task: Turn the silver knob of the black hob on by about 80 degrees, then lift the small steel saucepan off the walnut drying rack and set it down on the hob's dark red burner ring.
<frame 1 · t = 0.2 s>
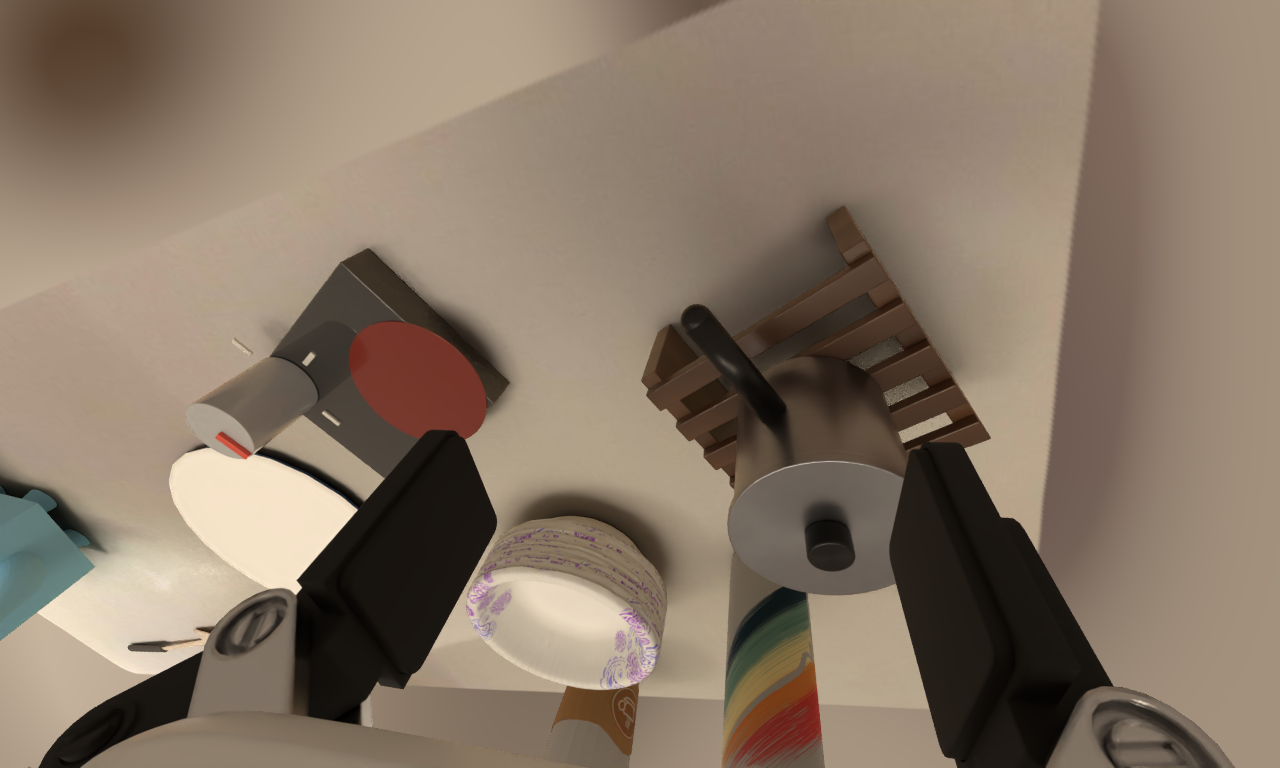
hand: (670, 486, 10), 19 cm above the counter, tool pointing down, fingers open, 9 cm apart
hob: (391, 370, 35), on the counter
drying rack: (800, 354, 29), on the counter
paper bowls: (588, 550, 43), on the counter
lotion bottle: (767, 560, 39), on the counter
coffee cup: (613, 648, 52), on the counter
spatula: (183, 640, 75), on the counter
burner ring: (418, 386, 32), resting on hob
teakettle: (45, 512, 60), on the counter
plate: (298, 532, 51), on the counter
saucepan: (809, 416, 24), point 6 cm above the counter, touching drying rack
hob knob: (254, 407, 32), point 5 cm above the counter, hinge at 0.0°
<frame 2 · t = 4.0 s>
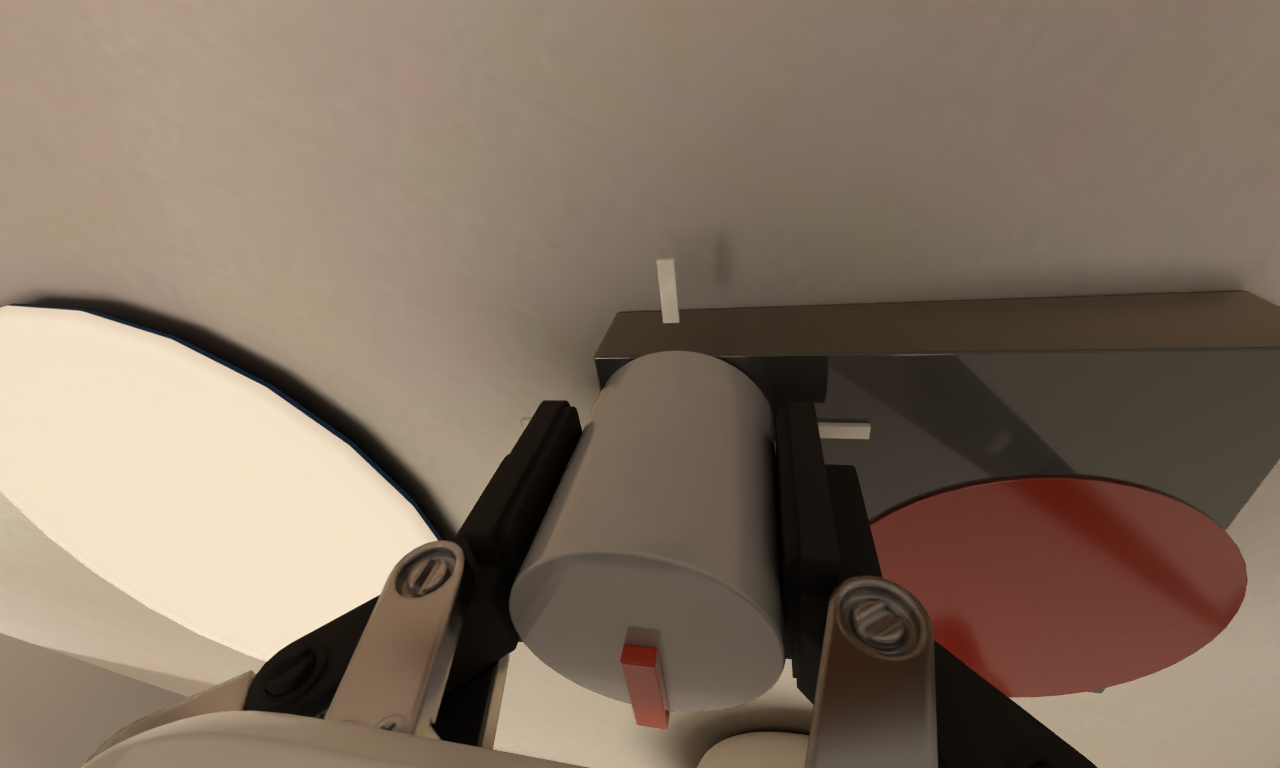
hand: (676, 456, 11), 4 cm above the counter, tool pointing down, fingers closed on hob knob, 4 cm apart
hob: (861, 480, 15), on the counter
paper bowls: (795, 764, 27), on the counter
burner ring: (1006, 603, 13), resting on hob
plate: (245, 525, 24), on the counter
hob knob: (664, 516, 10), point 5 cm above the counter, hinge at -0.1°, touching gripper
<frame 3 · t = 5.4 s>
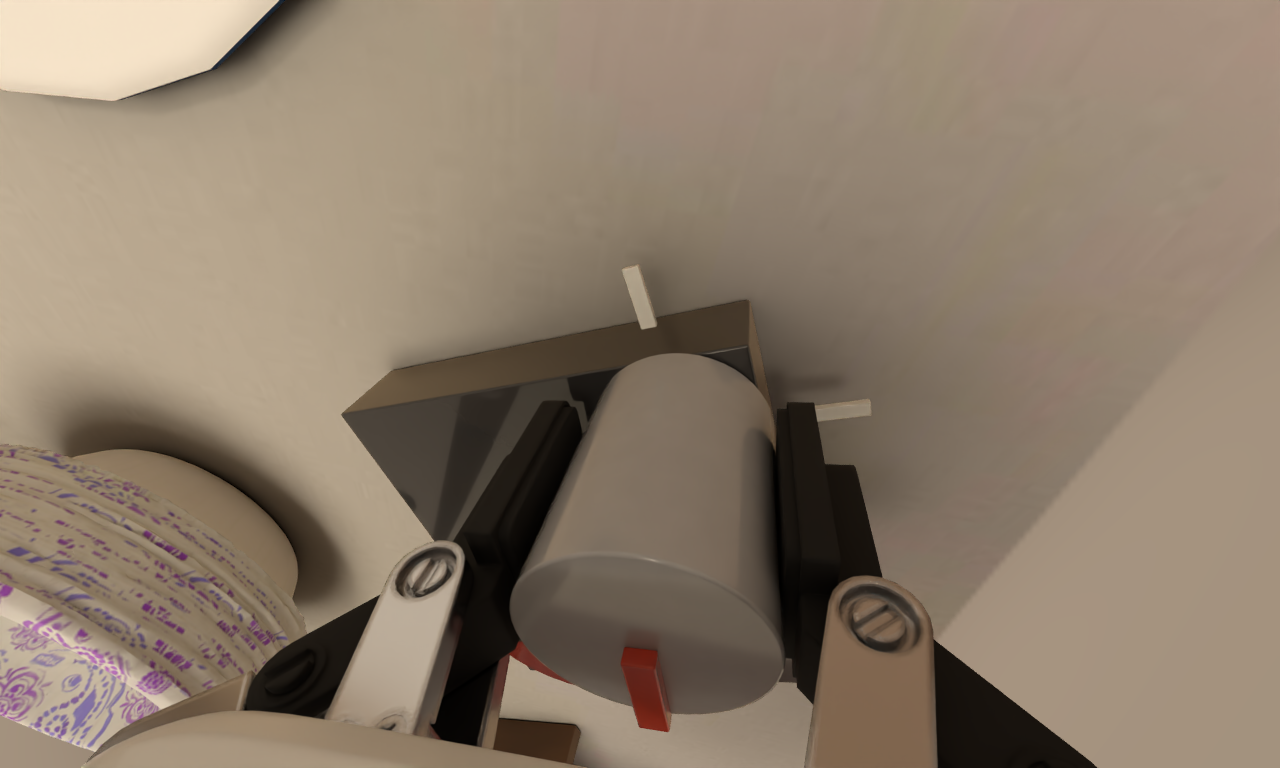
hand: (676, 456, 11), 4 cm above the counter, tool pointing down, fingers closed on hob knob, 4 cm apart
hob: (620, 504, 18), on the counter
drying rack: (529, 759, 34), on the counter
paper bowls: (211, 516, 25), on the counter
burner ring: (584, 624, 18), resting on hob
hob knob: (665, 518, 10), point 5 cm above the counter, hinge at 80.7°, touching gripper
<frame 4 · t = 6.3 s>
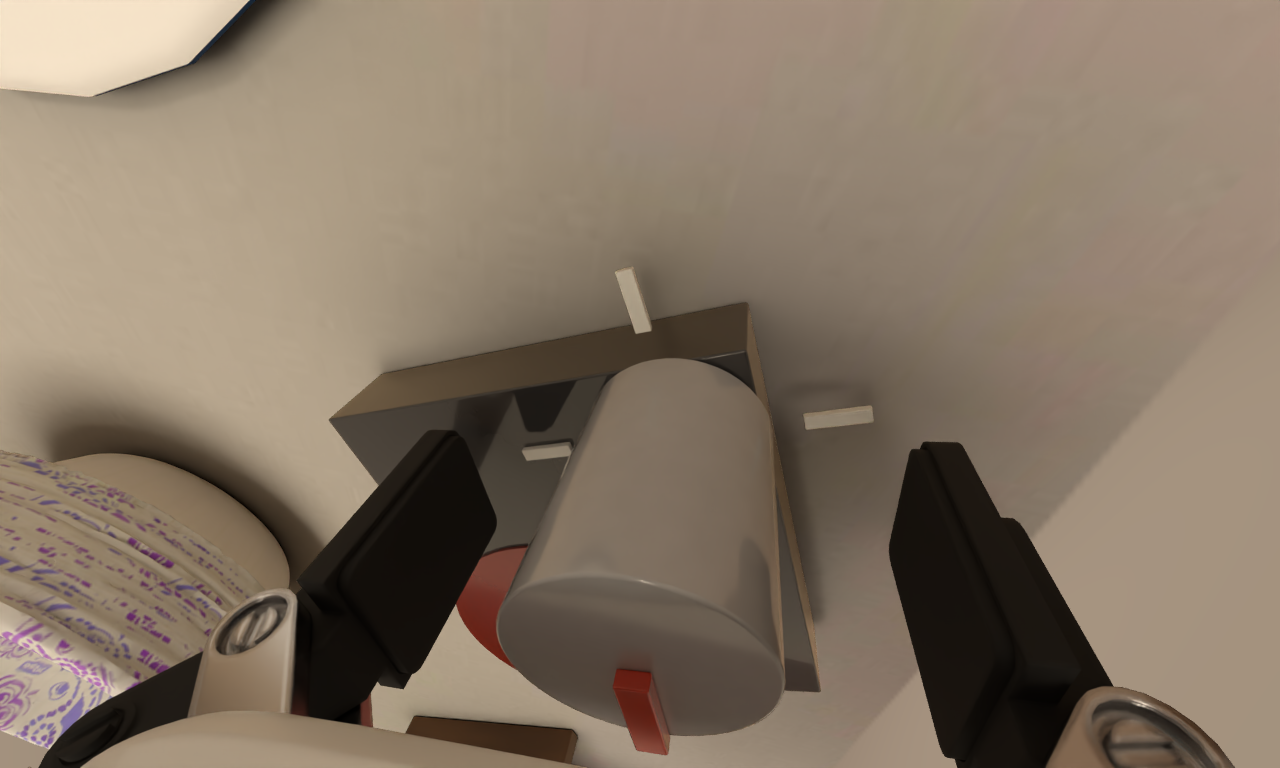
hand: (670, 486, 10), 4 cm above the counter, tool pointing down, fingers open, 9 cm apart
hob: (616, 510, 18), on the counter
drying rack: (526, 764, 34), on the counter
paper bowls: (201, 521, 24), on the counter
burner ring: (580, 632, 18), resting on hob
hob knob: (660, 530, 9), point 5 cm above the counter, hinge at 82.4°
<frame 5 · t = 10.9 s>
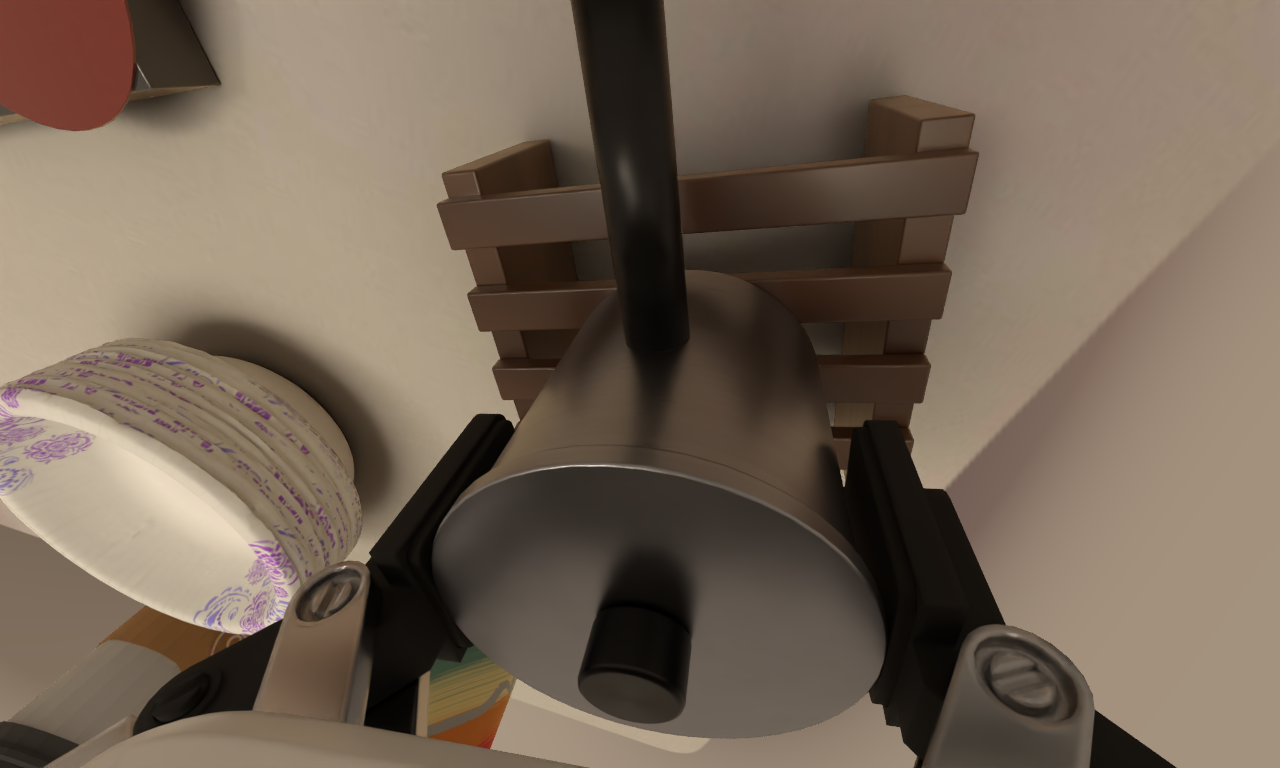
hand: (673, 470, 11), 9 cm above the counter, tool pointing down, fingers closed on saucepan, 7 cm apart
drying rack: (707, 298, 19), on the counter
paper bowls: (278, 426, 28), on the counter
lotion bottle: (520, 536, 29), on the counter
coffee cup: (271, 559, 37), on the counter
saucepan: (690, 385, 14), point 6 cm above the counter, touching drying rack, gripper
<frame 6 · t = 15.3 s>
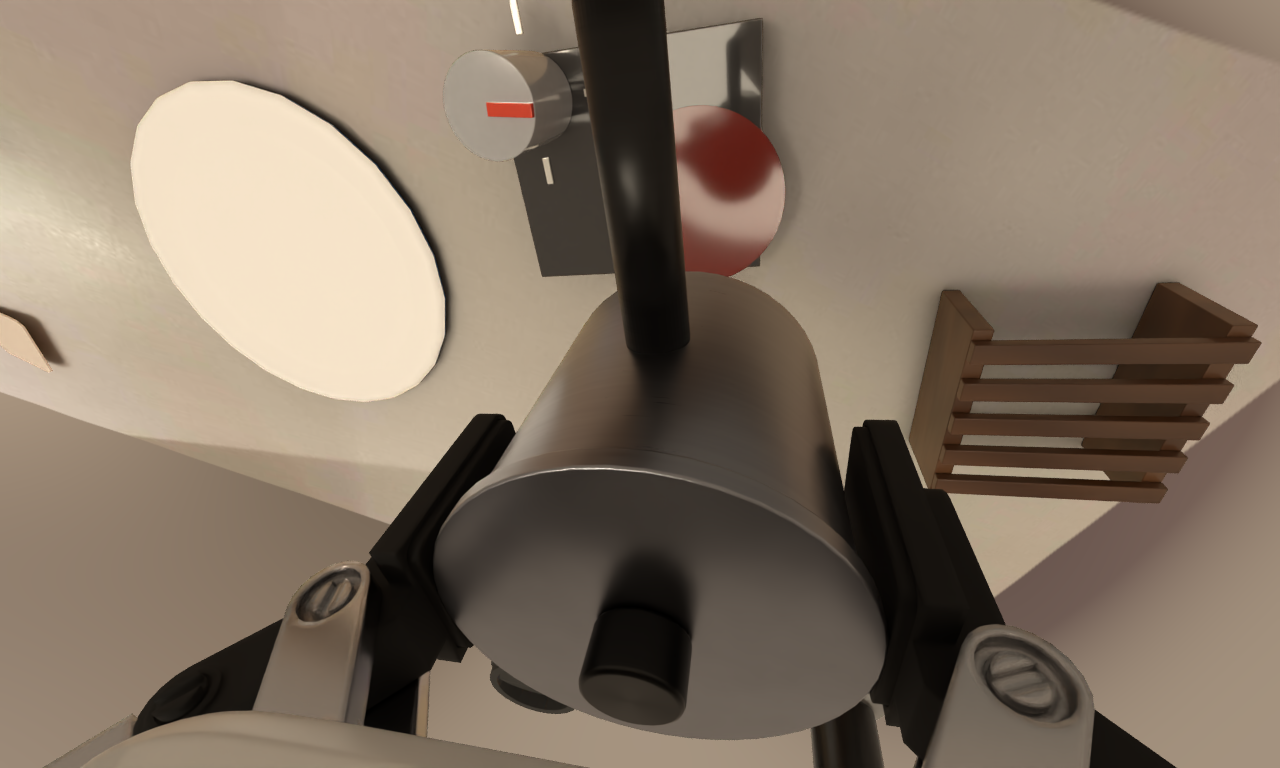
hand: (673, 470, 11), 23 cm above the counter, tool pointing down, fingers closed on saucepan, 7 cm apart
hob: (641, 162, 30), on the counter
drying rack: (1024, 372, 32), on the counter
lotion bottle: (815, 516, 43), on the counter
coffee cup: (587, 535, 51), on the counter
burner ring: (697, 201, 28), resting on hob
plate: (304, 264, 39), on the counter
saucepan: (690, 386, 14), point 20 cm above the counter, touching gripper
hob knob: (512, 104, 24), point 5 cm above the counter, hinge at 82.4°
when the fingers open (6 cm above the counter, at t = 19.7 s): saucepan stays where it is, resting on burner ring.
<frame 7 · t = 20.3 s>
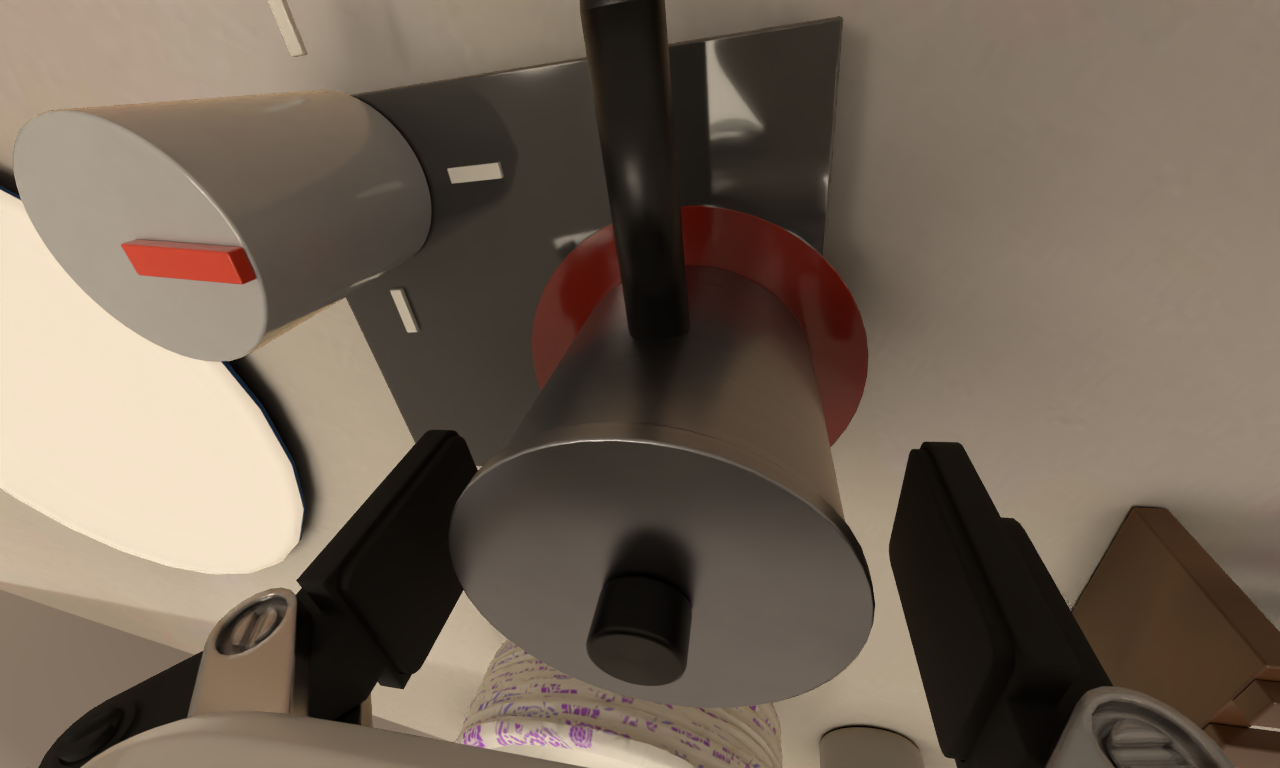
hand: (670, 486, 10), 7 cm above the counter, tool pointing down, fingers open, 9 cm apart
hob: (587, 283, 16), on the counter
drying rack: (1256, 625, 19), on the counter
paper bowls: (641, 644, 28), on the counter
lotion bottle: (867, 743, 29), on the counter
burner ring: (689, 374, 14), resting on hob
plate: (89, 400, 25), on the counter
saucepan: (689, 377, 14), point 3 cm above the counter, touching burner ring
hob knob: (265, 214, 11), point 5 cm above the counter, hinge at 82.4°
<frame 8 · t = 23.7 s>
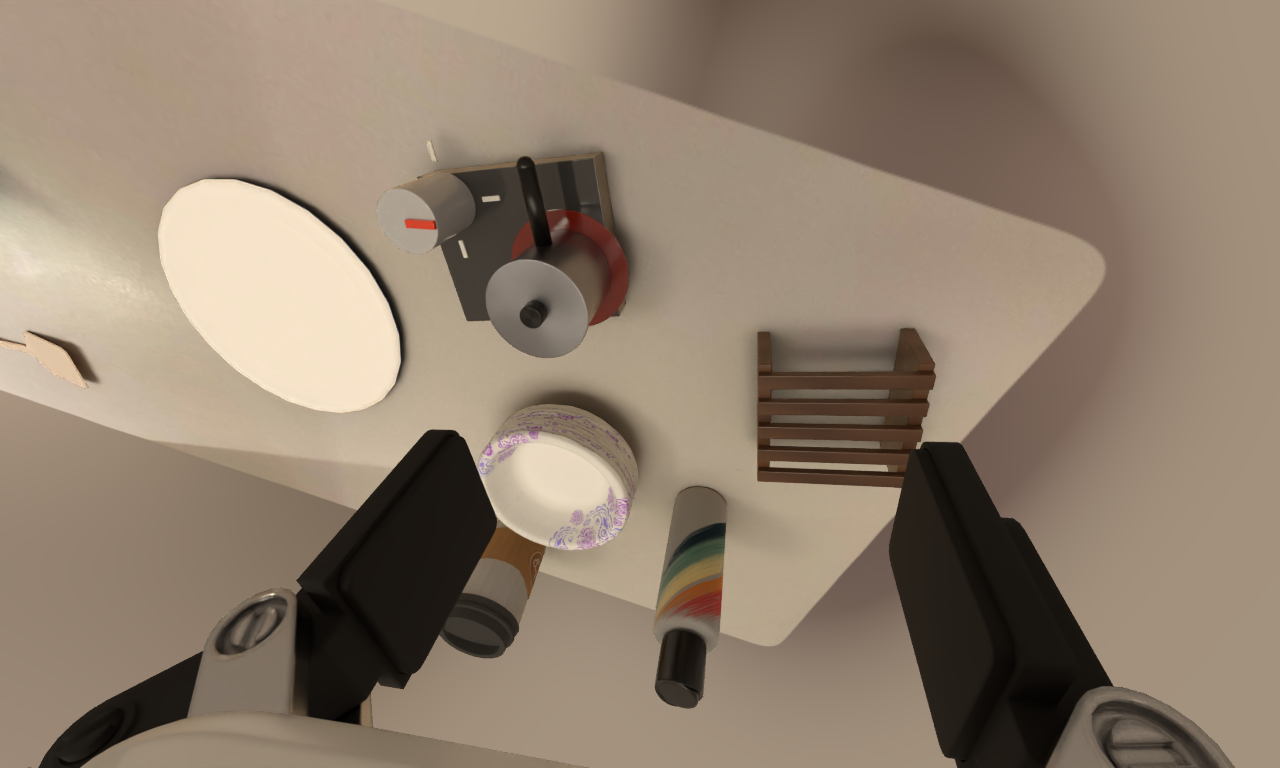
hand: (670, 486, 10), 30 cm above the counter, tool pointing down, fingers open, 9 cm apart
hob: (534, 239, 40), on the counter
drying rack: (827, 391, 43), on the counter
paper bowls: (575, 443, 53), on the counter
lotion bottle: (700, 502, 54), on the counter
coffee cup: (528, 521, 62), on the counter
burner ring: (569, 271, 39), resting on hob
plate: (291, 306, 50), on the counter
saucepan: (569, 272, 39), point 3 cm above the counter, touching burner ring
hob knob: (428, 212, 35), point 5 cm above the counter, hinge at 82.4°
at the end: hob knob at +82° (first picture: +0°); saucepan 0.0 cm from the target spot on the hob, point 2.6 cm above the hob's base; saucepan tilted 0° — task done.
